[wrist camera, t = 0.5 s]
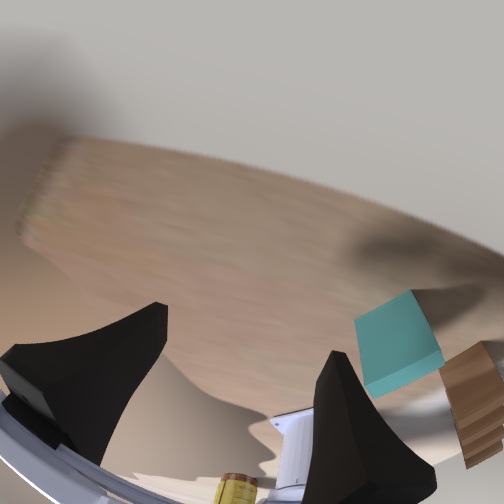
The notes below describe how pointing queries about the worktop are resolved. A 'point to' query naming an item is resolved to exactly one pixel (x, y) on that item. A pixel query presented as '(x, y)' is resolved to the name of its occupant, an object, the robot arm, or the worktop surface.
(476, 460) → the domino
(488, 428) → the domino
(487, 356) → the domino
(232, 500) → the sauce bottle
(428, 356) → the domino
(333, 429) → the robot arm
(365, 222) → the worktop surface
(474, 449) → the domino
